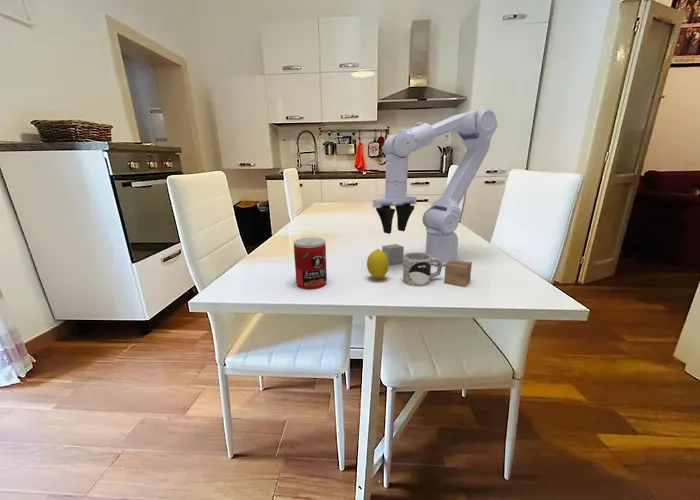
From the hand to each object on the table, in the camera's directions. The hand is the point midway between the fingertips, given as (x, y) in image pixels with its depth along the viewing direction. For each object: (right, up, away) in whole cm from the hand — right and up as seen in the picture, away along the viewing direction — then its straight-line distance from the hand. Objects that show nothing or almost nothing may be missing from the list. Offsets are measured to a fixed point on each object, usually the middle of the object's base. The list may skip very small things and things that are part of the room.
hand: (394, 231), depth 87 cm
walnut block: (+14, -13, -9) cm, 21 cm away
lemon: (-5, -13, -6) cm, 15 cm away
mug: (+6, -13, -8) cm, 16 cm away
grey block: (0, -9, +8) cm, 12 cm away
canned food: (-22, -14, -8) cm, 27 cm away
